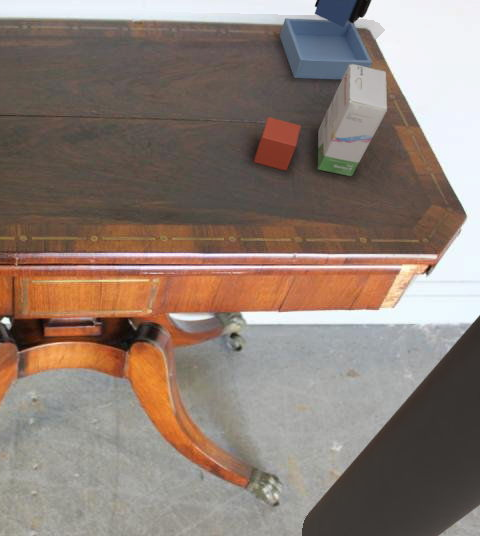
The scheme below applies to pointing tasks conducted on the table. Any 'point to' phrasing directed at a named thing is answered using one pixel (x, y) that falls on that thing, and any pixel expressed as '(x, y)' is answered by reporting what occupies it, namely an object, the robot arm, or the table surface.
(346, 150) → the ink box
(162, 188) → the table surface
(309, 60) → the blue bin
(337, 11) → the blue block
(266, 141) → the red block
